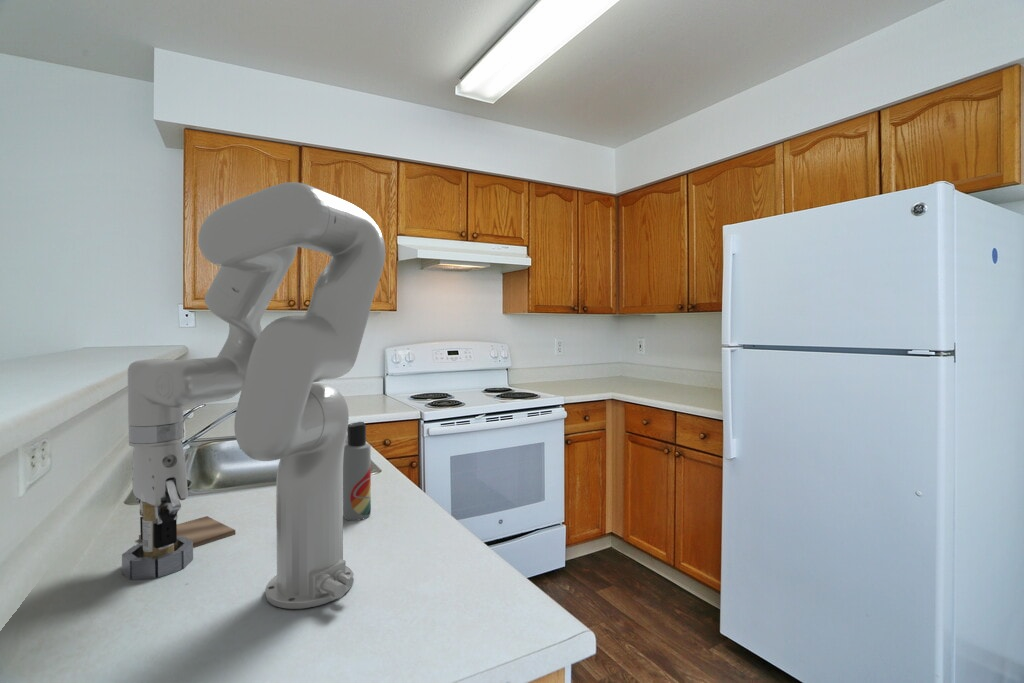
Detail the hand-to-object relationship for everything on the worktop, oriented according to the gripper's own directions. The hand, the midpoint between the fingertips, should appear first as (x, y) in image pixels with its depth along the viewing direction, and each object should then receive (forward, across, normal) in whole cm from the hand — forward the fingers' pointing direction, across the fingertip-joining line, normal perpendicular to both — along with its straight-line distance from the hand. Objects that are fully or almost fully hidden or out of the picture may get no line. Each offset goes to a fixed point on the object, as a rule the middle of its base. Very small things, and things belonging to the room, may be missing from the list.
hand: (158, 540), depth 85 cm
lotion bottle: (+5, -9, -34) cm, 35 cm away
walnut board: (+4, +9, -8) cm, 13 cm away
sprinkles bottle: (+5, 0, 0) cm, 5 cm away
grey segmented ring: (+4, 0, 0) cm, 4 cm away
